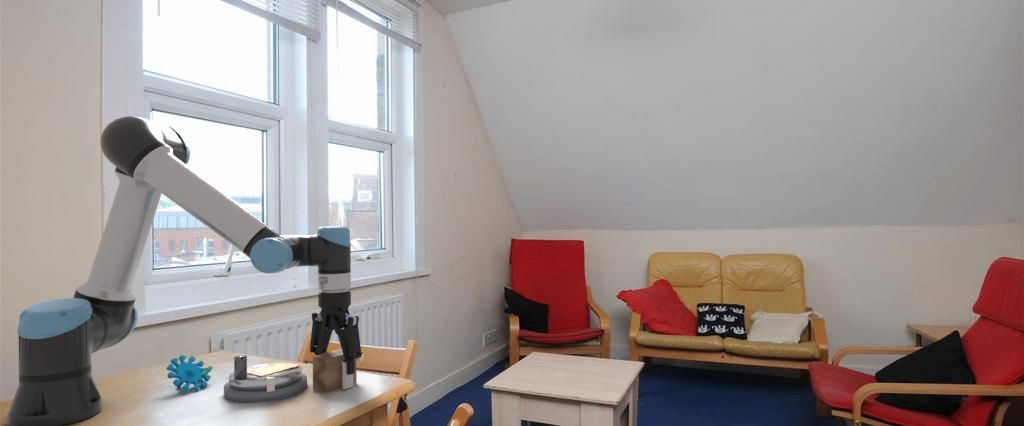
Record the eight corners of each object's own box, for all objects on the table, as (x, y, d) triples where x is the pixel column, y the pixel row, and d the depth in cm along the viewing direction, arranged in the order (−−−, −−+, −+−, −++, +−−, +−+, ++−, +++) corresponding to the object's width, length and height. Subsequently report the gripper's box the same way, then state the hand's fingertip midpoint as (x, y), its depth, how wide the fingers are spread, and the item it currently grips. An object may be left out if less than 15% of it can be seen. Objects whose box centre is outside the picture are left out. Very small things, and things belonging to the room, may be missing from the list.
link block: (312, 390, 133) (312, 356, 133) (342, 380, 141) (341, 348, 141) (327, 393, 131) (327, 358, 131) (356, 383, 138) (356, 350, 138)
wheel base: (207, 394, 130) (207, 372, 130) (275, 375, 146) (275, 355, 146) (256, 407, 121) (256, 384, 121) (323, 385, 136) (323, 364, 136)
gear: (178, 390, 128) (163, 355, 132) (164, 406, 129) (150, 371, 133) (222, 384, 138) (207, 351, 142) (209, 399, 139) (194, 366, 143)
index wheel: (234, 374, 138) (234, 345, 138) (303, 368, 143) (303, 340, 143) (223, 393, 123) (223, 361, 123) (300, 386, 128) (300, 355, 128)
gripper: (293, 289, 138) (293, 382, 138) (353, 295, 127) (354, 396, 127) (317, 286, 144) (318, 375, 144) (377, 291, 134) (378, 387, 134)
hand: (335, 384), depth 136 cm, fingers open, 8 cm apart
